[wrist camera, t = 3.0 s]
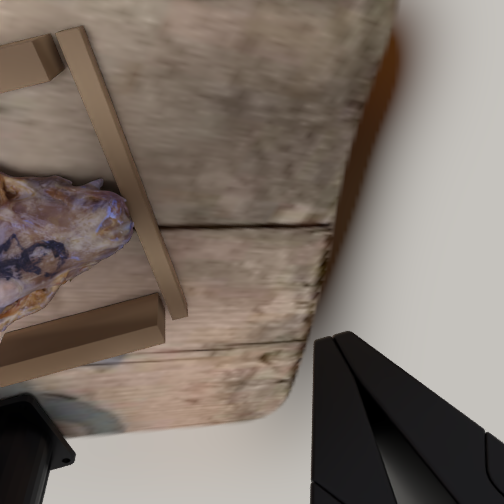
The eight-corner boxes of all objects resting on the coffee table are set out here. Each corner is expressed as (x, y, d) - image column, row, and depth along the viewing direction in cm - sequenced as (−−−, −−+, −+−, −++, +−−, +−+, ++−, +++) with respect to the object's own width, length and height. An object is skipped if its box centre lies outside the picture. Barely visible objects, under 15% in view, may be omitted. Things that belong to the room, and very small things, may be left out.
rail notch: (187, 304, 23) (189, 336, 20) (16, 349, 22) (1, 387, 20) (83, 25, 15) (70, 31, 13) (-174, 87, 15) (-230, 104, 13)
